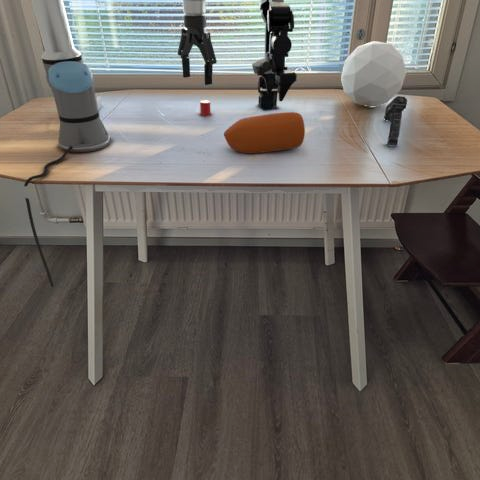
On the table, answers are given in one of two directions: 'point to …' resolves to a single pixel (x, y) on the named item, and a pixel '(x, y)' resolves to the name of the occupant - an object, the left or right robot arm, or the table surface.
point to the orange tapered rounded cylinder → (266, 133)
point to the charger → (98, 101)
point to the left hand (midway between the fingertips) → (197, 80)
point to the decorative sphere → (373, 74)
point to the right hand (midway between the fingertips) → (274, 97)
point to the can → (205, 107)
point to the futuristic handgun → (395, 118)
